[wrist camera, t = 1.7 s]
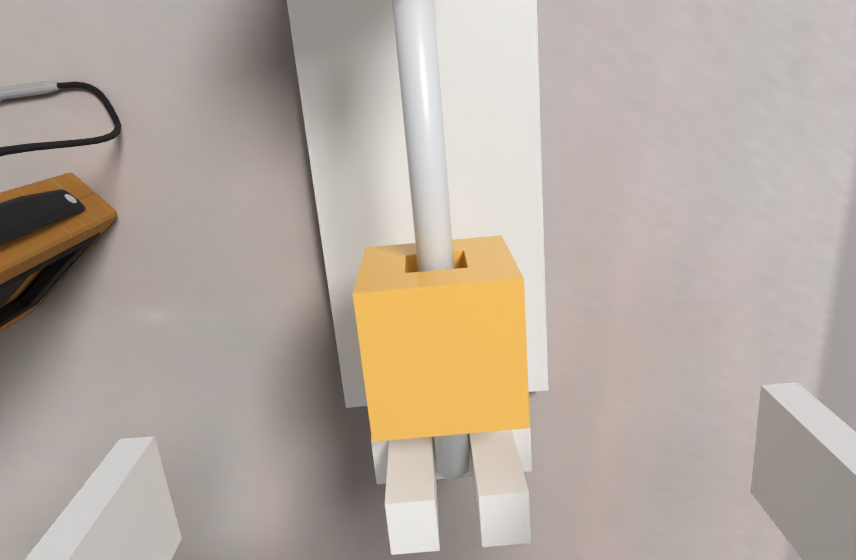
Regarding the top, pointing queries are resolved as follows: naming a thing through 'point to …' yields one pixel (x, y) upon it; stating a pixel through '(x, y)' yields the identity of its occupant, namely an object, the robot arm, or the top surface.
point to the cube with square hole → (443, 341)
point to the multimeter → (46, 219)
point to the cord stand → (428, 203)
